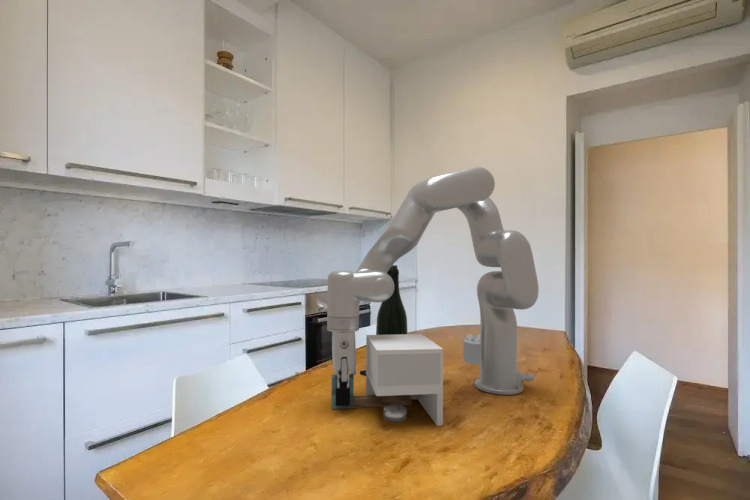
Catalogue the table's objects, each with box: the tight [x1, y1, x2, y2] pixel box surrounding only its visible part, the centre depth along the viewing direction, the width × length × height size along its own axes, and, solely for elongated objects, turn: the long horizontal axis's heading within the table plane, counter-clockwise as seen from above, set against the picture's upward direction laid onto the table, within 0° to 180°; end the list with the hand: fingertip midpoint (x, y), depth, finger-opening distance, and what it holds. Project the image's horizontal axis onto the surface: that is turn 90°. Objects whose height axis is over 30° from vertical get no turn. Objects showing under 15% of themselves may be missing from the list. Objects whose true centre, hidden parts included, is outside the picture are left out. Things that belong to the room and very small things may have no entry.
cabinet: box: [365, 333, 444, 427], centre depth 88 cm, size 14×17×16 cm
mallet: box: [330, 373, 412, 410], centre depth 92 cm, size 19×3×7 cm, turn 98°
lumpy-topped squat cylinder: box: [462, 333, 480, 365], centre depth 135 cm, size 10×13×9 cm
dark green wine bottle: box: [375, 264, 409, 335], centre depth 126 cm, size 10×10×33 cm
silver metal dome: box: [383, 404, 408, 423], centre depth 85 cm, size 5×5×2 cm
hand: (342, 401), depth 91 cm, fingers closed on mallet, 3 cm apart
